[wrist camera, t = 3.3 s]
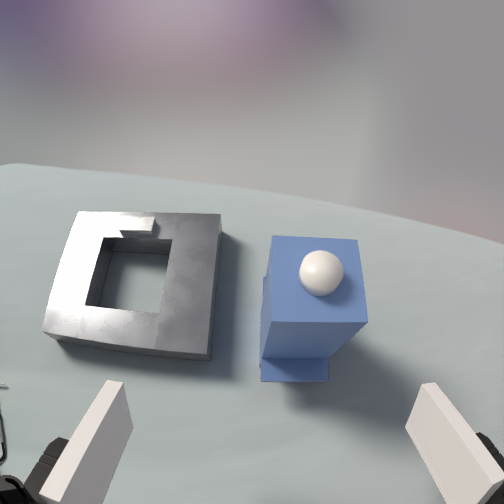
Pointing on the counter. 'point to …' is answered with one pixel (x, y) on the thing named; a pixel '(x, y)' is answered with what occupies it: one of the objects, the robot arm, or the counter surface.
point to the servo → (309, 306)
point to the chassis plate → (174, 294)
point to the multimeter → (0, 438)
